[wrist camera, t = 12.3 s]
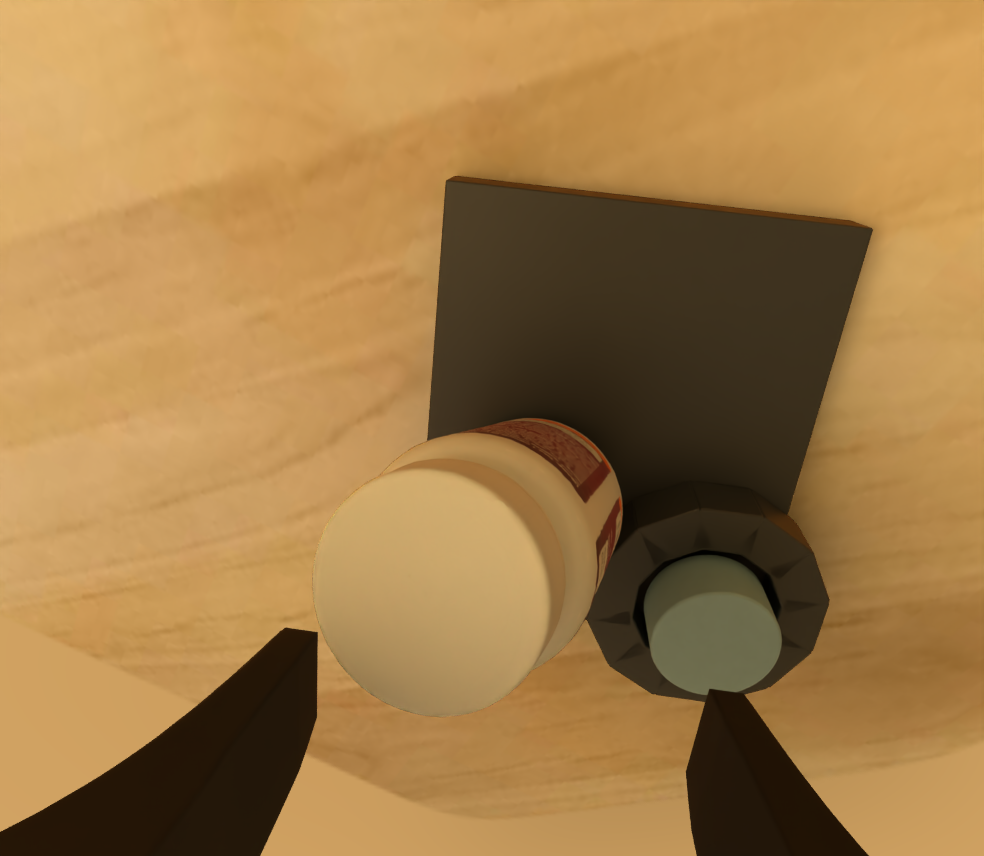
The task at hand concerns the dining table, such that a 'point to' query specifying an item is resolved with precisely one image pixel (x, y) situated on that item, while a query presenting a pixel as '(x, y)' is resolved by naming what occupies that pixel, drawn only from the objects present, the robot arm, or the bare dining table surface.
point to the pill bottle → (467, 564)
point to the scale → (654, 374)
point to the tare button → (711, 625)
